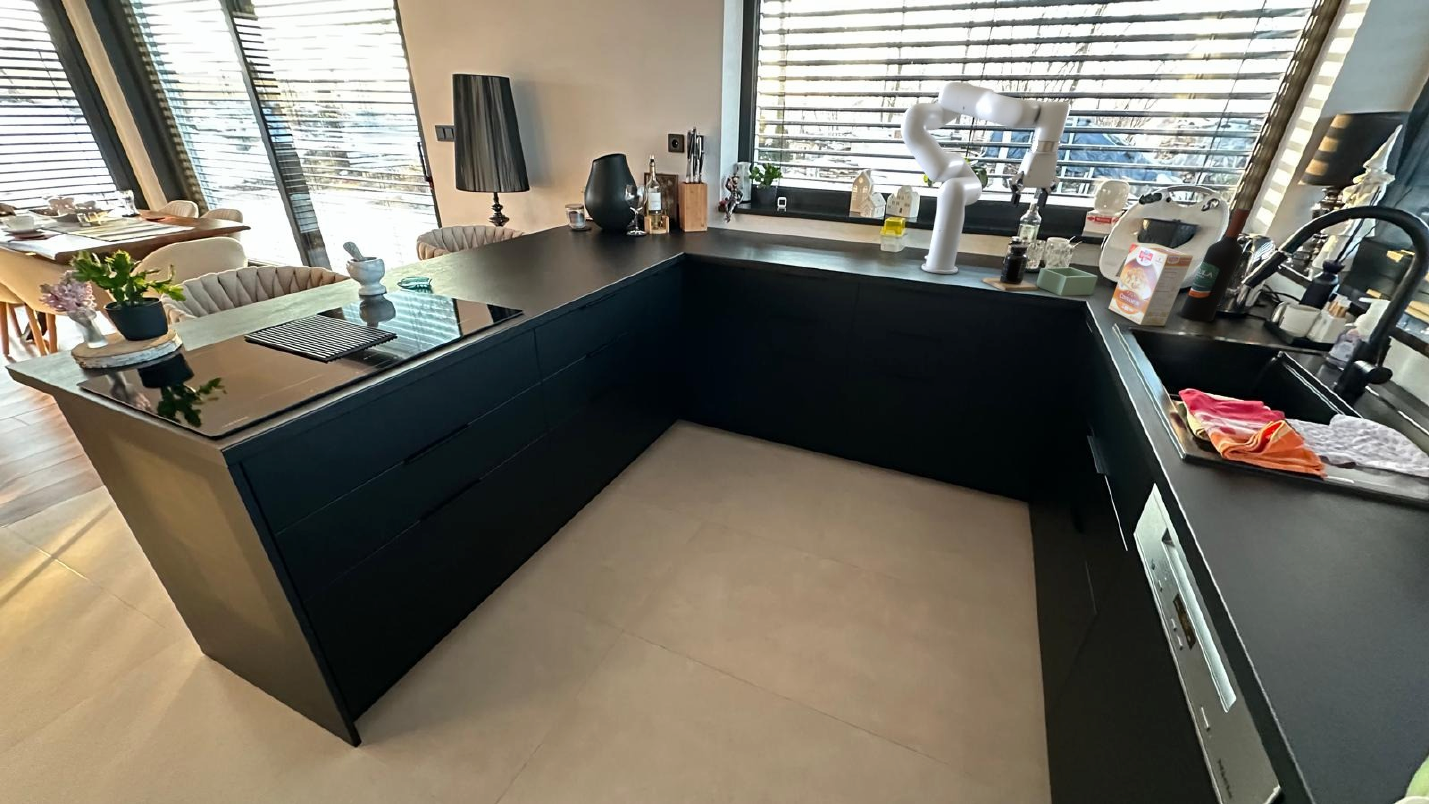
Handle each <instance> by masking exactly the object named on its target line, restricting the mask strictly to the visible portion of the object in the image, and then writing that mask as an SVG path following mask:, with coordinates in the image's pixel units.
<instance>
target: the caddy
mask: <svg viewBox="0 0 1429 804" xmlns="http://www.w3.org/2000/svg"><path fill="white" fill-rule="evenodd" d="M1098 279H1099V276H1098V275H1095V274H1092V273H1090V272H1086V271H1083V270H1081V269H1078V268H1074V267H1071V266H1070V267H1068V266H1066V267H1041V268H1040V270H1039V273H1038V276H1037V280H1036V283H1035V286H1038V288H1040V289H1043V290H1046V291H1048V292H1050V293H1053V294H1056V295H1057V296H1061V297H1065V296H1091V295H1093V292H1094V291H1095V290H1094V289H1095V287H1096V284H1097V281H1098Z"/></svg>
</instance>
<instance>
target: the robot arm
mask: <svg viewBox="0 0 1429 804" xmlns="http://www.w3.org/2000/svg"><path fill="white" fill-rule="evenodd" d="M937 100H938V101H937V102H935V103H929V102H920V103H919V102H918V103H915V104H912V105H911V106H909V107H908V108H907V109H906V111H905V112H904V113H903V116H902V119H901V123H900V134H901V138H902V140H903V143H904V145H905V146H906V147H907V149H908V151H909V152H910V153H911V154H912V156H913V158H914V159H915V161H916V163H917V164H918V165H919V167H920V168H921V169H922V171H923V173H924V174H925V176H926V177H927V179H928V180H930V181H931V182H932V183H942V184H941V186H939V189H938V191H937V197H936V213H935V218H934V223H933V225H934V226H933V230H932V235H931V239H930V245H929V250H928V254H927V255H925V256H924V259H925V260H926V262H924V263H922V264H921V266H920V268H921V269H922V270H923V271H925V272H928V273H933V274H938V275H939V274H940V275H954V274H956V273H958V271H959V268H958V267H957V266H955V264H956V261H957V260H956V259H957V255H958V250H959V245H960V242H961V237H962V233H963V227H964V222H965V212H966V211H965V207H966V206H970V205H973V204H974V203H976V202H977V201H978V200H979V199H980V198H981V196H982V193H983V185H982V182H981V180H980V179H979V177H978V176H977V174H976V173H975V171H974V170H973V169H972V167H971V166H970V164H969V163H968V162H967V160H966V159H965V158H964V157H963V156H962V155H961V154H959V153H957V152H946V151H945V150H944V148H942V147H941V145H940V144H939V142H938V141H937V139H936V138H935V137H934V136H933V135H932V134H931V133H930V132H929V131H935V130H936V131H937V130H939V129H941V128H943V127H944V126H946V125H947V124H949V123H951V122H952V121H954V120H955V119H957V118H959V117H960V116H962V115H963V116H966V117H971V118H975V119H979V120H981V121H986V122H989V123H993V124H996V125H1001V126H1004V127H1009V128H1013V129H1014V128H1015V129H1018V128H1019V129H1021V128H1022V129H1031V128H1035V129H1034V133H1033V136H1032V139H1031V144H1030V147H1029V151H1026V153H1025V154H1024V155H1023V158H1022V160H1021V163H1020V165H1019V168H1018V170H1017V174H1015V175H1013V176H1011V177H1009V178H1008V185H1009V190H1010V192H1011V193H1012V194H1011V198H1010V202H1009V207H1012V208H1015V209H1016V208H1019V204H1020V200H1021V198H1022V194H1021V193H1022V192H1023V191H1024V190H1025V189H1040V191H1041V192H1040V193H1039V194H1038V198H1037V201H1036V204H1035V205H1036V207H1038V208H1042V209H1045V207H1046V204H1047V202H1048V200H1049V199H1048V198H1049V195H1051V194H1052V192H1053V191H1054V190H1055V189H1056V188H1057V186H1058V185H1059V183H1060V182H1061V178H1059V176H1057V175H1056V174H1055V173H1056V169H1057V165H1058V158H1059V153H1058V151H1059V150H1060V149H1061V148H1062V144H1061V141H1062V138H1063V134H1064V130H1065V127H1066V124H1067V121H1068V118H1069V114H1070V111H1071V104H1070V103H1069V102H1067V101H1055V100H1054V101H1050V100H1049V101H1041V100H1035V99H1025V98H1024V99H1023V98H1016V97H1012V96H1007V95H1003V94H999V93H997V92H995V90H994V89H992V88H988V87H982V86H977V85H973V84H971V83H968V82H960V81H952V82H948V83H947V84H945V85H944V86H943V87H941V89H940V91H939V93H938V97H937Z"/></svg>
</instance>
